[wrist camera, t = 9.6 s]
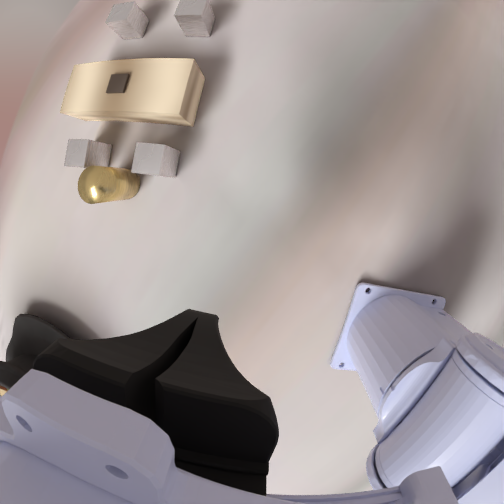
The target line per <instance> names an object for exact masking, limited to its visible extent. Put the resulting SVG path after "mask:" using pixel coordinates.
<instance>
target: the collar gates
mask: <svg viewBox="0 0 504 504" xmlns="http://www.w3.org/2000/svg"><path fill="white" fill-rule="evenodd" d="M174 16H175V18H176V20H177V21H178V23H179V25H180V27H181V29H182V30H183V32H184V34H185V36H198V37H210V33H211V30H212V27H213V24H214V21H215V17H214V14H213V10H212V7H211V4H210V1H209V0H180V2H179V5H178V7H177V10H176V12H175V14H174ZM148 22H149V19H148V18H147V17H146V15H145V14H144V13H143V11H142V10H141V9H140V7H139V6H138V5H137V4H136V2H135V1H133V2H127V3H121V4H115V5H114V6H113V8H112V10H111V12H110V14H109V16H108V18H107V20H106V22H105V23H106V24H107V25H108V26H109V27H110V28H111V29H112V30H114V31H115V32H116V33H117V34H118V35H119V36H120V37H121V38H122V39H133V38H143V35H144V32H145V30H146V27H147V25H148ZM111 148H112V145H110V144H106V143H102V142H97V141H93V140H87V139H69V140H68V146H67V151H66V157H65V163H64V166H71V167H83V168H87V167H89V166H104V167H108V165H109V159H110V154H111ZM179 155H180V151H178V150H176V149H174V148H171V147H169V146H167V145H163V144H153V143H141V142H137V143H136V148H135V153H134V159H133V164H132V170H131V173H140V174H148V175H155V176H164V177H174V178H175V177H176V171H177V166H178V161H179Z"/></svg>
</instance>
